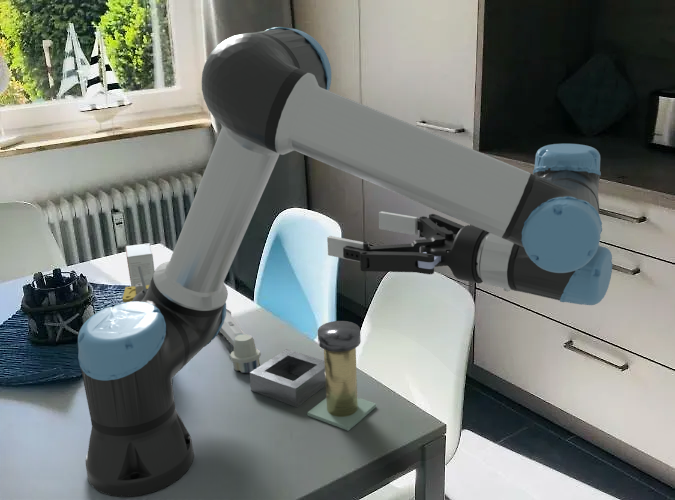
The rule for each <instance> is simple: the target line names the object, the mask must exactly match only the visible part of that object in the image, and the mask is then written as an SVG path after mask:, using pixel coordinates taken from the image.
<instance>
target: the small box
mask: <svg viewBox="0 0 675 500" xmlns="http://www.w3.org/2000/svg"><path fill="white" fill-rule="evenodd" d="M125 252H126V260H127V268H128V275H129V281H130V287H131V286H135V285H136V284H138V283H142V282H141V278H140V274H139V270H138V266H141V269H142V273H143V277H144V281H145V286H146V285H149V284H150V282H151V279H152V277H153V274H154V272H155V270H156V269H155V264H154V256H153V252H152V248H151V243H150V242H149V243H142V244H133V245H126V246H125Z"/></svg>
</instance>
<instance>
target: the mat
mask: <svg viewBox="0 0 675 500" xmlns="http://www.w3.org/2000/svg"><path fill="white" fill-rule="evenodd" d="M357 400H358V409H357V411H356V412H355V413H354V414H352V415H350V416H345V417H338V416H334V415H331V414H330V413H329V412H328V411H327V402H326V397H325V398H324V399H323V400H321V401H319V403H317V404H316V405H315V406H314V407H312V408H311V409H310V410H308V411H307V414H306V415H307V416H308V417H310V418H312V419H315V420H318V421H321V422H323V423H326V424H330V425H332V426H335V427H336V428H337V427H338V428H340V429H342V430H345V431H350V430H351V429H352V428H353V427H355V426H356V425H357V424H358V423H359V422H361V421H362V420H363V419H364V418H365V417H366V416H367V415H368V414H370V413H371V412H372V411H374V410H375V409H376V407H377V403H375V402H372V401H369V400H367V399H364V398H361V397H358V396H357Z"/></svg>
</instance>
